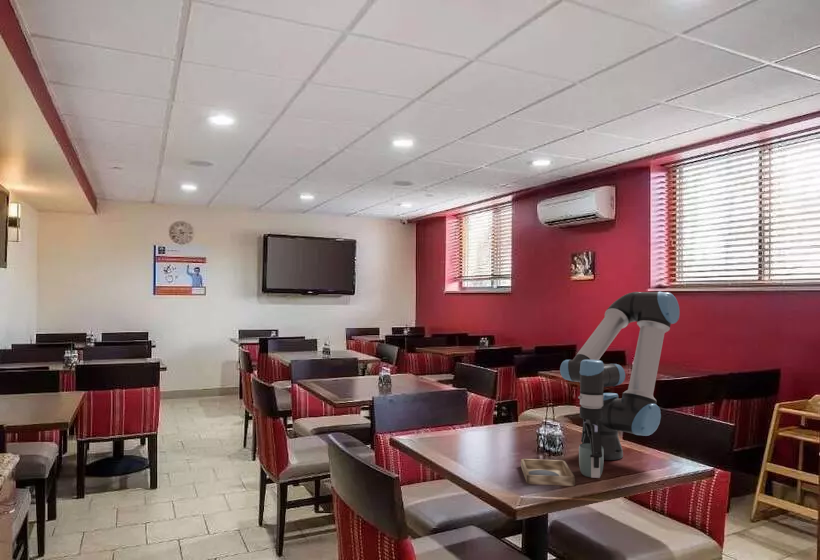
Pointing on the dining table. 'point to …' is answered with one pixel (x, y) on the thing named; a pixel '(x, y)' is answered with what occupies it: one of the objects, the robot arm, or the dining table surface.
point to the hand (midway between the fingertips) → (590, 471)
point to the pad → (543, 473)
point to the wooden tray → (549, 465)
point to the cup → (588, 459)
